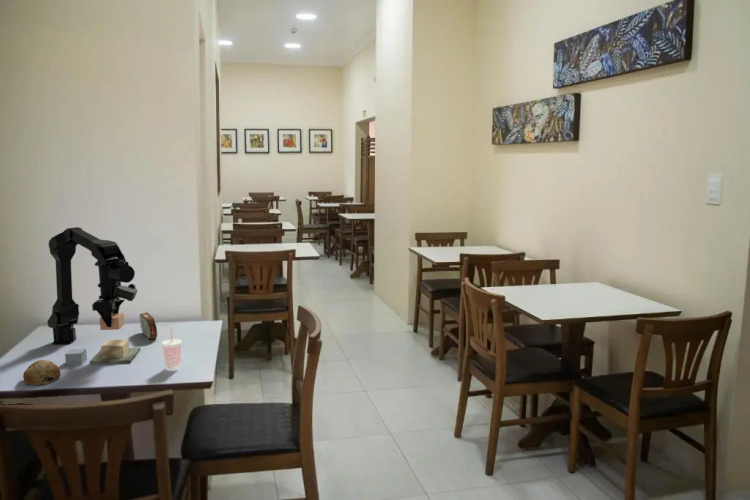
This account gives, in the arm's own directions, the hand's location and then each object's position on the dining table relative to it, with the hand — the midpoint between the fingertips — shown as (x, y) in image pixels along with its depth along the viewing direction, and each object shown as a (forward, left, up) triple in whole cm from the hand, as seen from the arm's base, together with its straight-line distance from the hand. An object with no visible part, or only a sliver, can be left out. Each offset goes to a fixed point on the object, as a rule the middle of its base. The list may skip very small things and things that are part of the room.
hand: (112, 324), depth 210 cm
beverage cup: (+22, -13, -12) cm, 28 cm away
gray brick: (-11, -4, -12) cm, 17 cm away
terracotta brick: (0, 0, -1) cm, 1 cm away
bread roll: (-16, -19, -12) cm, 28 cm away
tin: (+6, +23, -12) cm, 26 cm away
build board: (+1, 0, -12) cm, 12 cm away
